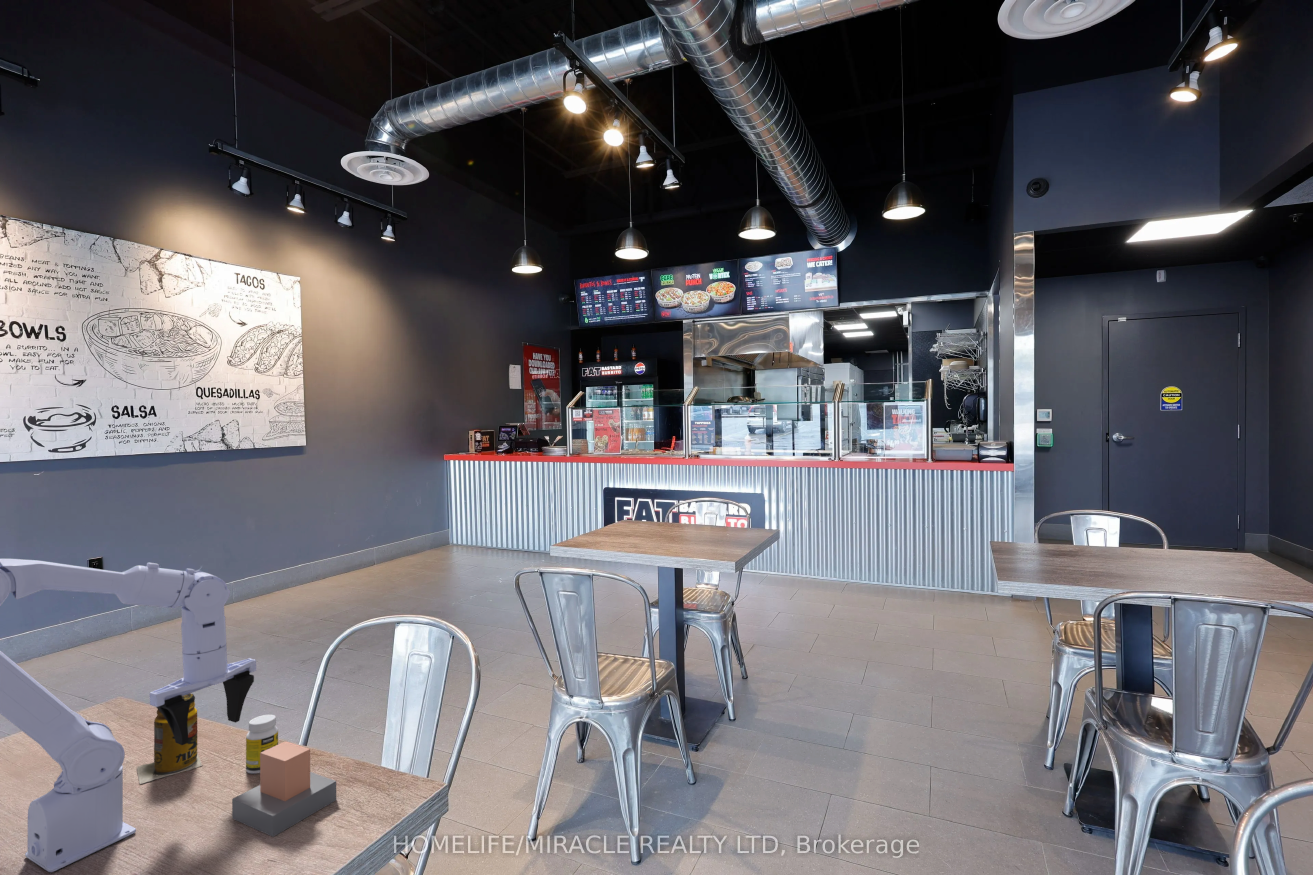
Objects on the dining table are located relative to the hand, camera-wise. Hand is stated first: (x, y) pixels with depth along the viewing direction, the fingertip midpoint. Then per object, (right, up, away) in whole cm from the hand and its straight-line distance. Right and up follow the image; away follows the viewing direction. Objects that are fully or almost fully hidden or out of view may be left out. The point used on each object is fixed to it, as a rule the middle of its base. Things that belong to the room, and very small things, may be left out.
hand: (208, 731), depth 98 cm
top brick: (+15, -7, -4) cm, 17 cm away
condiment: (-14, -11, +9) cm, 20 cm away
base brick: (+15, -10, -4) cm, 18 cm away
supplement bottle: (+3, -11, +9) cm, 14 cm away
